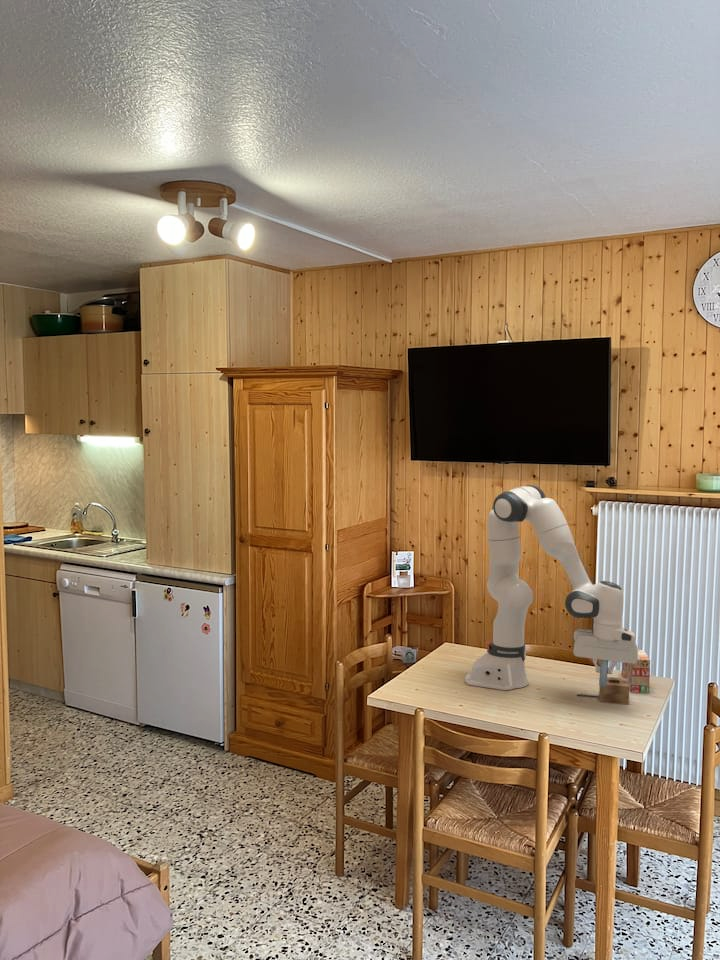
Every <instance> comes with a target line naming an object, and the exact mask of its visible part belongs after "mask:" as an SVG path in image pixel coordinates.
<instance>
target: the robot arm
mask: <svg viewBox="0 0 720 960" xmlns="http://www.w3.org/2000/svg"><path fill="white" fill-rule="evenodd" d="M525 520H526V521H528V522H529V523H530V524H531V525H532V527H533V529H534V533H535V535H536V537H537V540H538V543H539V545H540V546H541V547H542V549H543V551H544V552H545V553H546V554H547V555H548V556H550V557H553V558H554V559H556V560H557V561H558V562H560V563H561V564H562V566H563V568H564V570H565V572H566V574H567V576H568V579H569V581H570V583H571V586H572V591H571V592H569V594H567V596H566V597H565V602H564V606H565V609H566V611H567V613H568V614H569V615H570V616H572V617H574V618H575V619H593V626H592V629H590V628H587V629H586V628H579V627H578V628H577V629H575V631H574V632H573V640H574V645H573V655H574V656H575V657H577V658H584V659H585V658H587V659H592V664H594V667H595V671H594V672H595V673H598V674H600V669H601V667H600V666H599V665H598V664H597V663H598V660H599V661H601V660H608V662H609V661H610V662H611V664H612V665H610V667H609V666H608V674H607V675H613V670H614V669H615V667H616V666H617V664H618V663H622V662H624V663H632V664H635V663H636V662H637V661H638V650H639V649H638V646H637V643H636V634H635V633H634V631H633V630H630V629H627V628H625V627H623V623H622V614H623V611H624V592H623V591H624V590H623V589H622V587H621V586H620V585H619V584H617V583H614V582H611V581H606V580H600V581H598V582H597V583H594V582H593V581H592V579H591V578H590V576H589V574H588V572H587V569H586V568H585V565H584V563H583V561H582V559H581V558H582V557H580V555H579V553H578V549H577V547H576V543H575V540H574V538H573V535H572V531H571V529H570V527H569V526H570V525H569V524H568V522H567V519H566V517H565V515H564V513H563V511H562V509H561V508H560V506H559V504H558V503H557V501H555V499H553V498H551V497H546V494H545V493H544V491H543V490H542V489H541V488H540V487H538V486H536V485H529V484H528V485H527V484H526V485H524V486H523V485H522V486H517V487H514V488H512V489H510V490H507V491H503V492H501V493H500V494H497V496H496V497H495V499H494V501H493V503H492V509H491V510H490V511H489V513H488V515H487V540H488V551H489V573H488V579H487V582H486V588H487V591H488V593H489V595H490V597H491V598H492V599H493V600H495V601H496V602H497V603H498V604H497V606H498V607H497V612H496V615H495V618H494V619H493V623H492V634H493V635H492V640H488V641H487V642H486V649H487V651H486V652H485V653H484V654H483V655H481V656H480V657H479V658H477V659H476V660H475V661H474V662H473V664H472V666H471V670H470V671H469V672H468V673H467V674H466V675H465V677H464V682H465V684H467V685H469V686H475V687H481V688H482V687H483V688H486V689H487V688H488V689H494V690H501V691H511V690H513V689H514V690H515V689H520V688H524V687H526V686H528V684H529V681H528V676H527V673H526V671H527V670H526V664H525V660H526V657H527V656H526V653H527V652H526V651H527V650H526V643H525V626H526V618H527V614H528V610H529V606H530V605H531V604H532V603H533V600H534V593H533V590H532V588H531V587H530V585H529V584H528V583H527V582H526V581H525V580H523V579H521V578H520V576H519V567H520V562H521V560H522V550H521V540H520V531H519V524H520V523H521V522H524V521H525Z"/></svg>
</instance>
